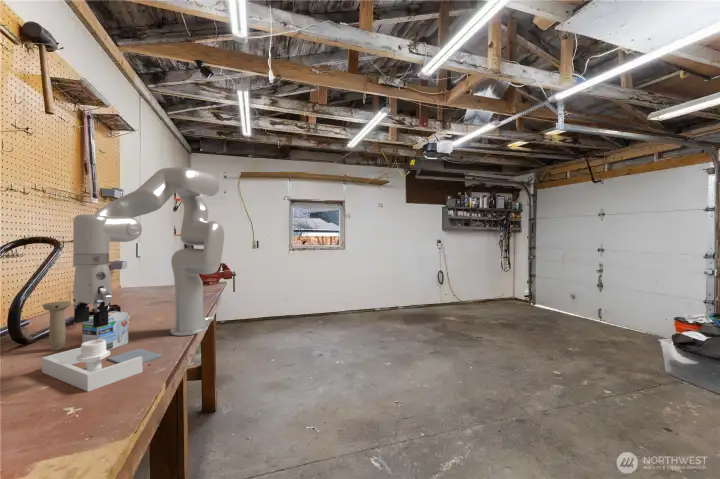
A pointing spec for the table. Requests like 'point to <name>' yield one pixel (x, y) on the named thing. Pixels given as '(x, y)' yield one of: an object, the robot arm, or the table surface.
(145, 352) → the mat
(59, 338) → the handle
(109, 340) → the light bulb box
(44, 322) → the table surface
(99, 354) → the pipe fitting
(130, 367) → the frame
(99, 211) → the robot arm
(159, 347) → the table surface
